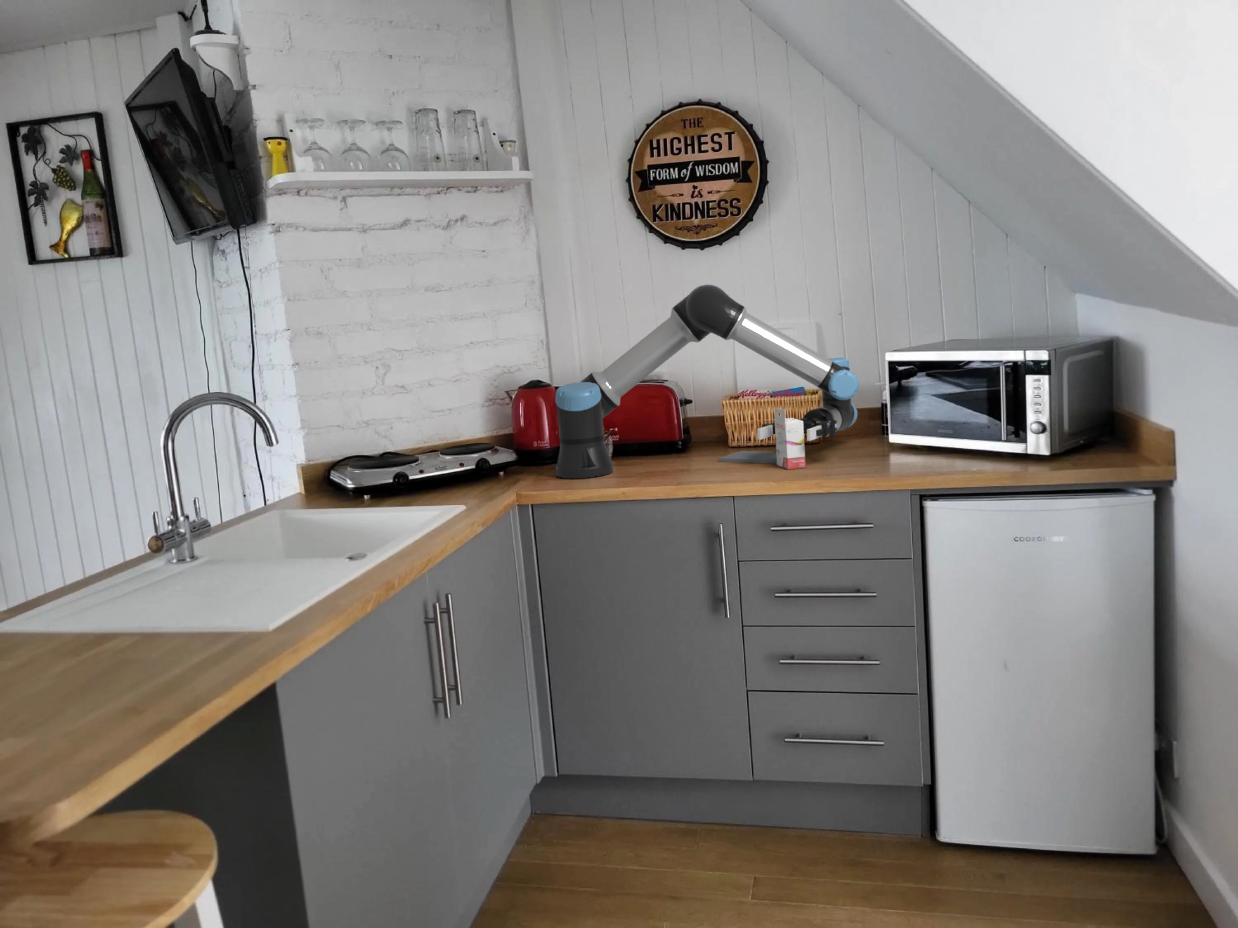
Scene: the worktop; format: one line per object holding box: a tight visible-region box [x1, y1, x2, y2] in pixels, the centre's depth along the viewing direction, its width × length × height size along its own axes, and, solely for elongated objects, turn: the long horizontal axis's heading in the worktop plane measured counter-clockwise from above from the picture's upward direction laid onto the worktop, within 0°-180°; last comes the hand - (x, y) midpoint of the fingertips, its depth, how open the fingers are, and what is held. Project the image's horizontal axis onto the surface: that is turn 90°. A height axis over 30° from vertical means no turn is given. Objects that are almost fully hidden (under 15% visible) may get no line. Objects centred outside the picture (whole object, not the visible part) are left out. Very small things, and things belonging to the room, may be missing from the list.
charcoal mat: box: [718, 450, 777, 464], centre depth 280 cm, size 18×12×1 cm, turn 54°
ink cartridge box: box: [774, 407, 806, 470], centre depth 263 cm, size 9×5×15 cm, turn 10°
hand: (783, 434), depth 260 cm, fingers open, 13 cm apart
